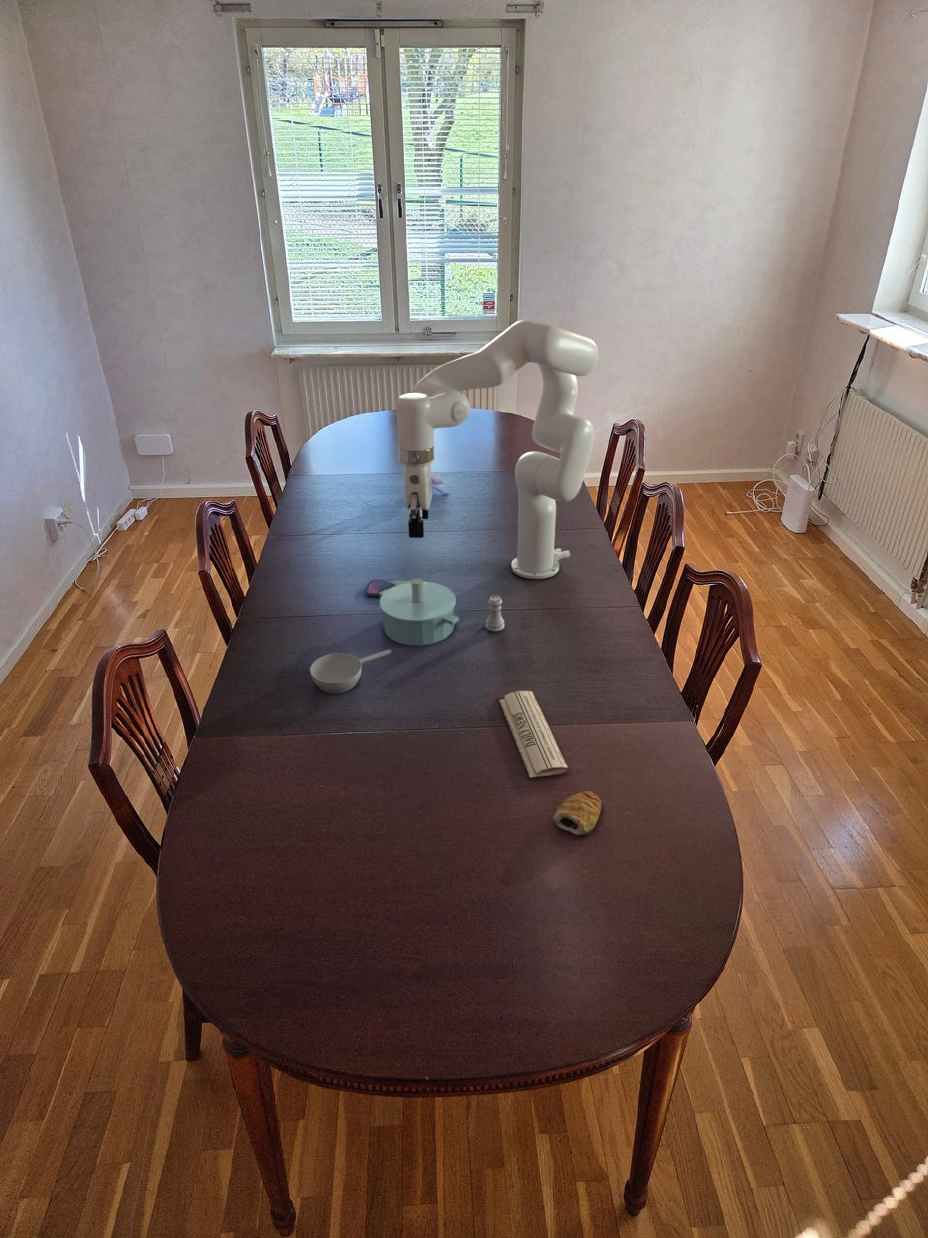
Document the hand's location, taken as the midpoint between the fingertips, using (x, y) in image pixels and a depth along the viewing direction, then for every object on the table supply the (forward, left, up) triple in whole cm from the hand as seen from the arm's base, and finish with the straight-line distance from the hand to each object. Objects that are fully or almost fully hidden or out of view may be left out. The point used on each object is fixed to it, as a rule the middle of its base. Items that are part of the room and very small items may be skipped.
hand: (418, 527), depth 182 cm
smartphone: (+1, -16, -24) cm, 29 cm away
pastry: (-1, +71, -25) cm, 75 cm away
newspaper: (-4, +48, -25) cm, 54 cm away
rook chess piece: (-14, +10, -25) cm, 30 cm away
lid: (+2, +2, -18) cm, 18 cm away
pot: (+2, +2, -24) cm, 24 cm away
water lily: (-30, -71, -25) cm, 81 cm away
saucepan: (+22, +15, -25) cm, 36 cm away
